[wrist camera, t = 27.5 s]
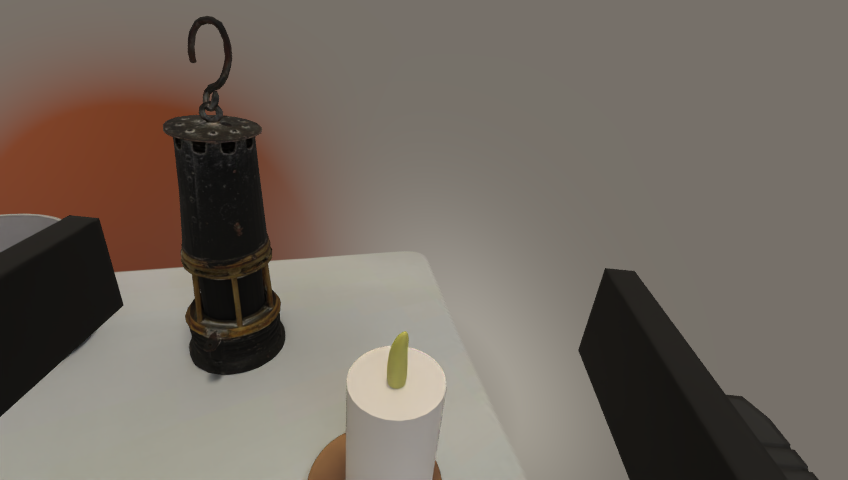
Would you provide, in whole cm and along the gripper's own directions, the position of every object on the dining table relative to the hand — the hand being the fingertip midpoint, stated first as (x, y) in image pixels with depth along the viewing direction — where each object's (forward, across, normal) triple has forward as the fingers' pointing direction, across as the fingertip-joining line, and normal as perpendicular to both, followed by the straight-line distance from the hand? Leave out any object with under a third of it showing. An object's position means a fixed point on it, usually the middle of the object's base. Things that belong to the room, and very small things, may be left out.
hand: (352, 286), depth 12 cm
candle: (+11, +1, -25) cm, 27 cm away
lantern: (+24, -16, -25) cm, 39 cm away
